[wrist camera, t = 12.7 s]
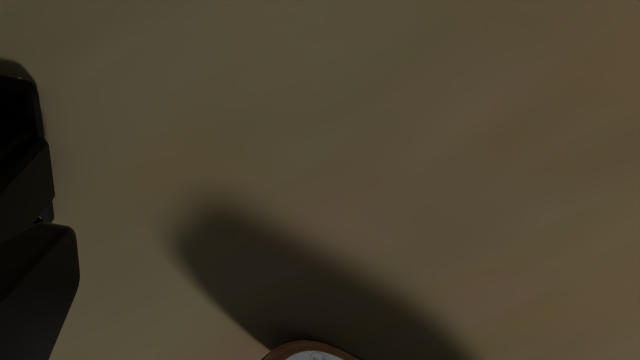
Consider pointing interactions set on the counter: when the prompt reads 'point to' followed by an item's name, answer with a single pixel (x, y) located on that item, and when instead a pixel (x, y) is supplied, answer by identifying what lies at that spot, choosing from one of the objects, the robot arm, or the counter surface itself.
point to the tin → (307, 352)
